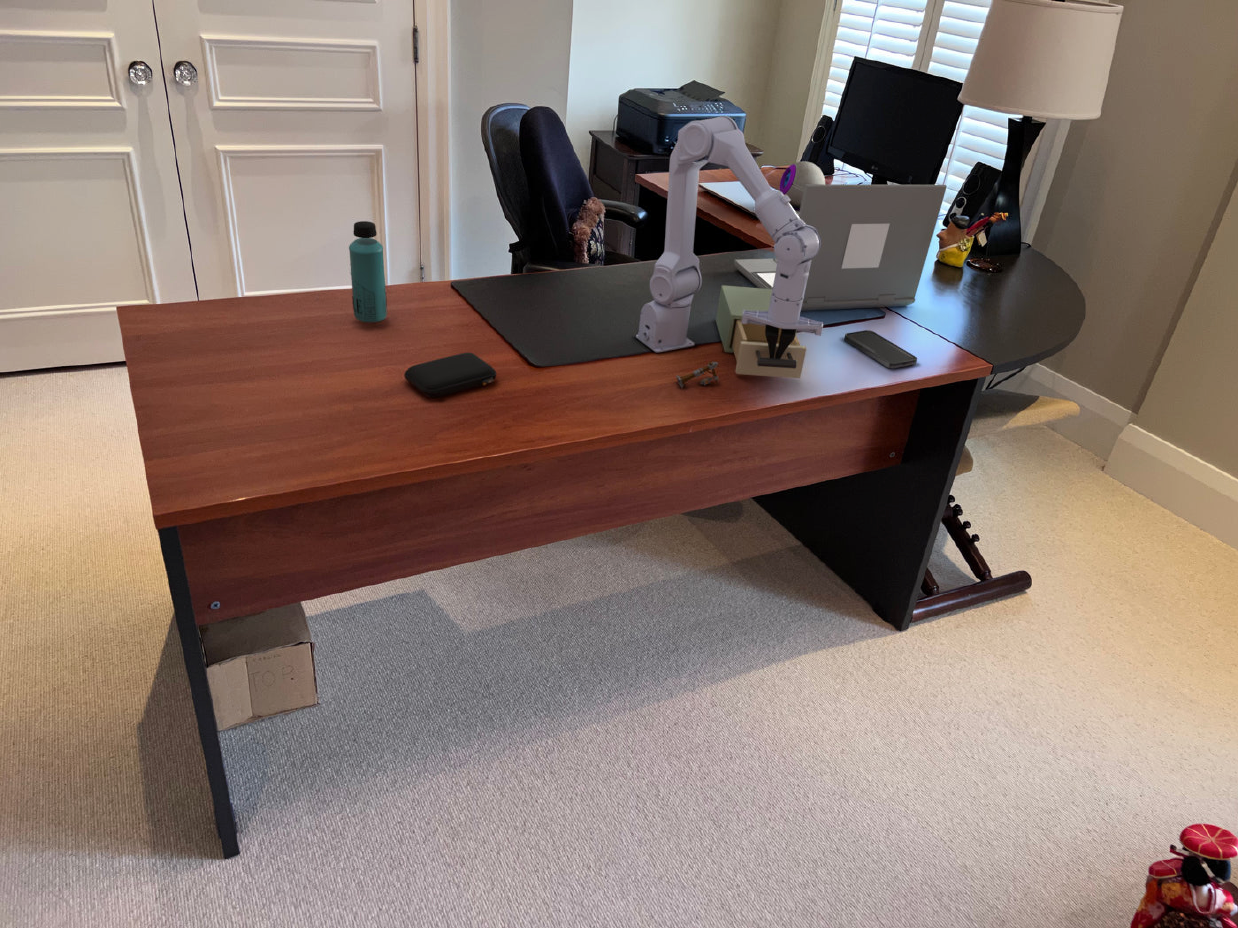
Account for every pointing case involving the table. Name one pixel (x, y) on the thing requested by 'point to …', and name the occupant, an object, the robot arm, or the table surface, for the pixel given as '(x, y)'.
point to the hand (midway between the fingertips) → (773, 363)
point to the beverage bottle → (367, 274)
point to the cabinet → (738, 308)
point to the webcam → (799, 181)
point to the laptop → (862, 244)
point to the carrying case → (450, 374)
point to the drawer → (764, 353)
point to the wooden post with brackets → (698, 372)
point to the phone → (880, 349)
